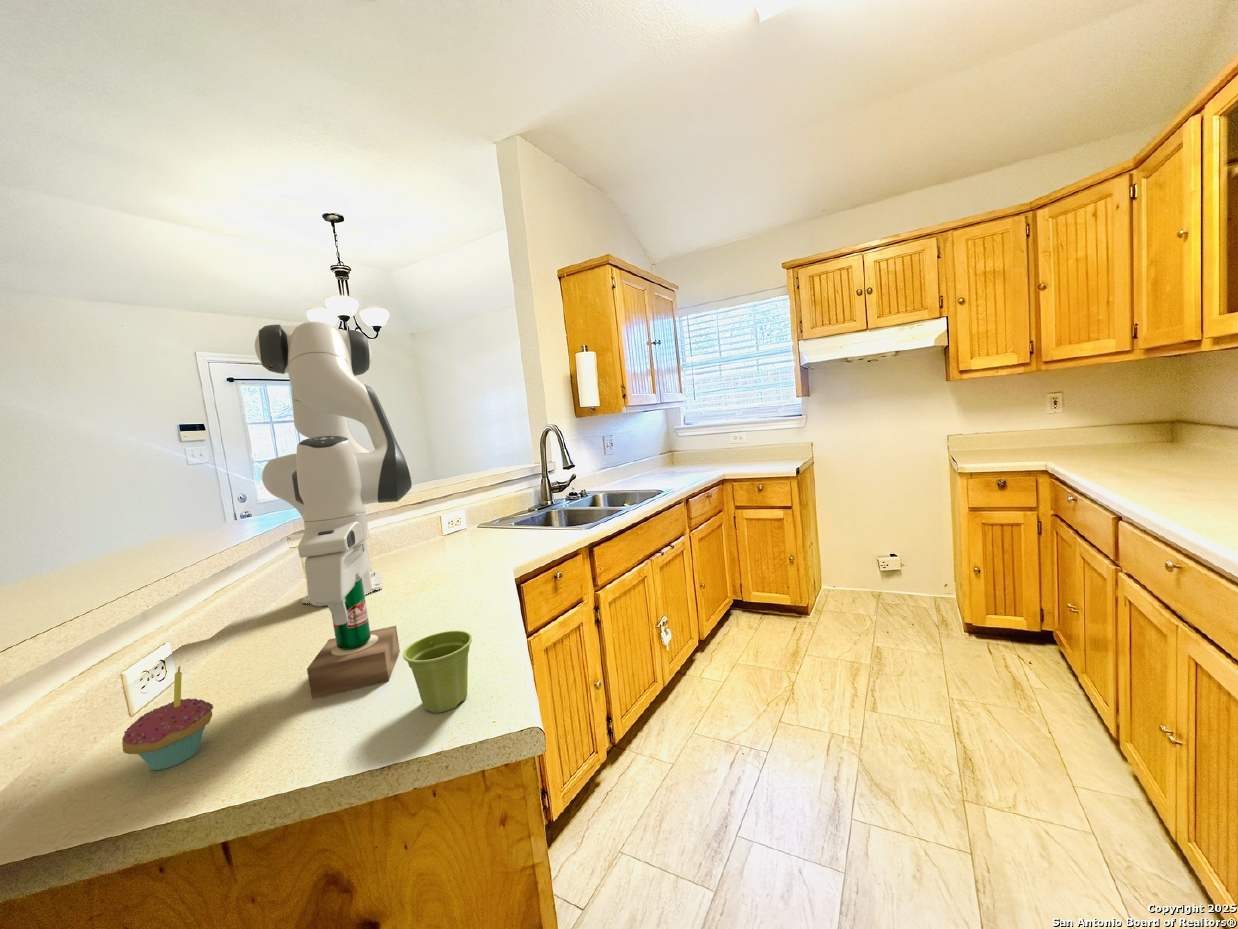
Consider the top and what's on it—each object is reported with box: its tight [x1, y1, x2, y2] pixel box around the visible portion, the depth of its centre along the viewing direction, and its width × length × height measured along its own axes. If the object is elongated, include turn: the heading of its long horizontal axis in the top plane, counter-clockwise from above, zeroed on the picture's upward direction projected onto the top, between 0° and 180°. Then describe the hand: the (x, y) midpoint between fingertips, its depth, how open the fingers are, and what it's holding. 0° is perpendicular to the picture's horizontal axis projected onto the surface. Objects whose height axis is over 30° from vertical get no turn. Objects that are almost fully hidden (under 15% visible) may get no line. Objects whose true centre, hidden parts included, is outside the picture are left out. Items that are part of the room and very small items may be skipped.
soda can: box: [331, 573, 371, 650], centre depth 77 cm, size 5×5×12 cm
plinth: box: [306, 625, 401, 700], centre depth 77 cm, size 11×11×5 cm
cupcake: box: [121, 665, 214, 771], centre depth 59 cm, size 9×8×12 cm
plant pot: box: [402, 630, 473, 713], centre depth 66 cm, size 9×9×9 cm
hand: (350, 612), depth 77 cm, fingers open, 8 cm apart
